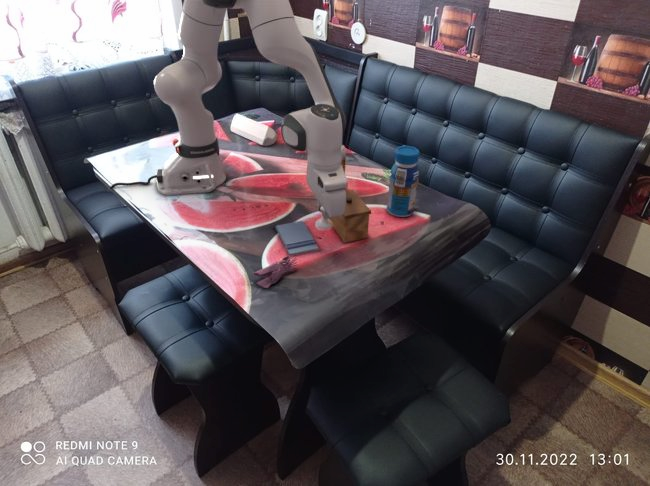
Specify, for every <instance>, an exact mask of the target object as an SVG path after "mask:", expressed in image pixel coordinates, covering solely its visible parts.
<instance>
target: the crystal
mask: <svg viewBox="0 0 650 486" xmlns="http://www.w3.org/2000/svg"><path fill="white" fill-rule="evenodd" d="M230 132H232V133H234V134H237V135H238V136H241V137H243V138H245V139H248V140H250V141H252V142H254V143H255V144H258V145H261V146H265V147H269V146H272V145H274V144H275V143H276V141H277V140H278V135H277V133H276V131H275V130H274V129H273V128H272V127H271V126H268V125H266V124H264V123H262V122H259V121H256V120H254V119H252V118H250V117H249V118H248V116H244V115H241V114H239V113H235V114H234V115H233V117H232V121H231V123H230Z"/></svg>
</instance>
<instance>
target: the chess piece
mask: <svg viewBox="0 0 650 486" xmlns="http://www.w3.org/2000/svg"><path fill="white" fill-rule="evenodd" d="M320 209H321V210H322V211H324V208H323V206H321V208H320ZM320 217H321V218H319V219H317V220H316V221H315V224H314V225H315V226H314V227H315V228H316V229H318V230H321V231H328V230H330V229H332V228H334V227H333V223H332V221H331V220H329V219H324V218H323V216H322V215H321V216H320Z"/></svg>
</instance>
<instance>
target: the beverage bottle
mask: <svg viewBox="0 0 650 486" xmlns="http://www.w3.org/2000/svg"><path fill="white" fill-rule="evenodd" d="M419 158H420V150H419V149H418V148H417V147H414V146H411V145H400V146H398V147H396V148H395V150H394V163H393V165H392V167H391V168H390V176H389V178H388V179H389V180H388V181H389V185H388V194H387V195H388V196H387V205H386V210H387V212H388V213H389V214H390V215H392V216H394V217H397V218H407V217H410V216H412V215H413V213H414V212H415V204H416V199H417V191H418V185H419V176H420V169H419V166H418V162H419V160H420V159H419Z"/></svg>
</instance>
